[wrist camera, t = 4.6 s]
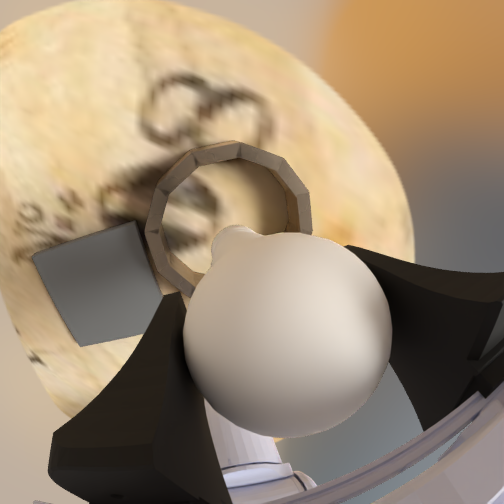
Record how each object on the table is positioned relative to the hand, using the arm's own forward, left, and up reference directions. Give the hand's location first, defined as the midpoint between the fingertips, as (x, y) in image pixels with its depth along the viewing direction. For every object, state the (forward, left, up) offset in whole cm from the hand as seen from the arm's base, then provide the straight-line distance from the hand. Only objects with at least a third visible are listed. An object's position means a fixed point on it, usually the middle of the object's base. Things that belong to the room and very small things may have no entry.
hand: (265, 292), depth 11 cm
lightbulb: (0, 0, -5) cm, 5 cm away
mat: (-2, +9, -8) cm, 13 cm away
